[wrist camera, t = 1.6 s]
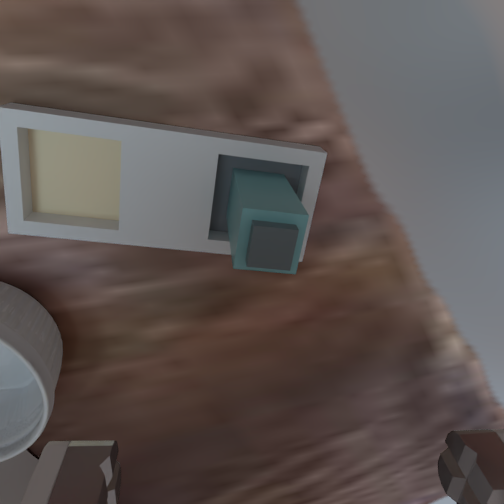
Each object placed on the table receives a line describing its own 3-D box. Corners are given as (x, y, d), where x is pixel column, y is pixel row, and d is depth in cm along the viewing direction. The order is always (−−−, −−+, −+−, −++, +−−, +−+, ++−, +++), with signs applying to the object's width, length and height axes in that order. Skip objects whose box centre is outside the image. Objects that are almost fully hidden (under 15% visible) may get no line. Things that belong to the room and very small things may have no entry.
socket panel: (296, 249, 33) (302, 261, 31) (19, 221, 30) (8, 233, 28) (319, 146, 30) (327, 153, 28) (10, 102, 27) (-4, 106, 25)
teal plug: (274, 221, 32) (298, 281, 24) (226, 216, 31) (233, 275, 23) (283, 174, 30) (312, 221, 22) (233, 167, 30) (244, 213, 22)
